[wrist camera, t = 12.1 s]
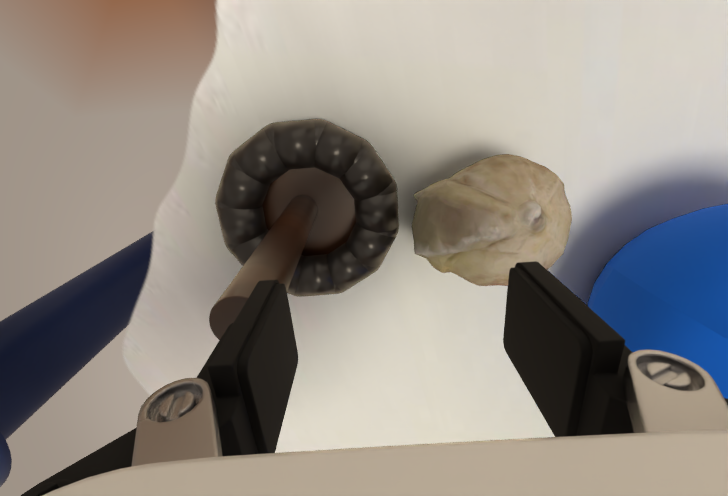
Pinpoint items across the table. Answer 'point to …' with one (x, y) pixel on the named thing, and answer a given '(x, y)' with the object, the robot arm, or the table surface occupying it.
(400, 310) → the table surface
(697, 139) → the table surface
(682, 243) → the vase
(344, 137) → the ring
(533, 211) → the beige rounded lump
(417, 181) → the table surface
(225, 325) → the brown upright peg
